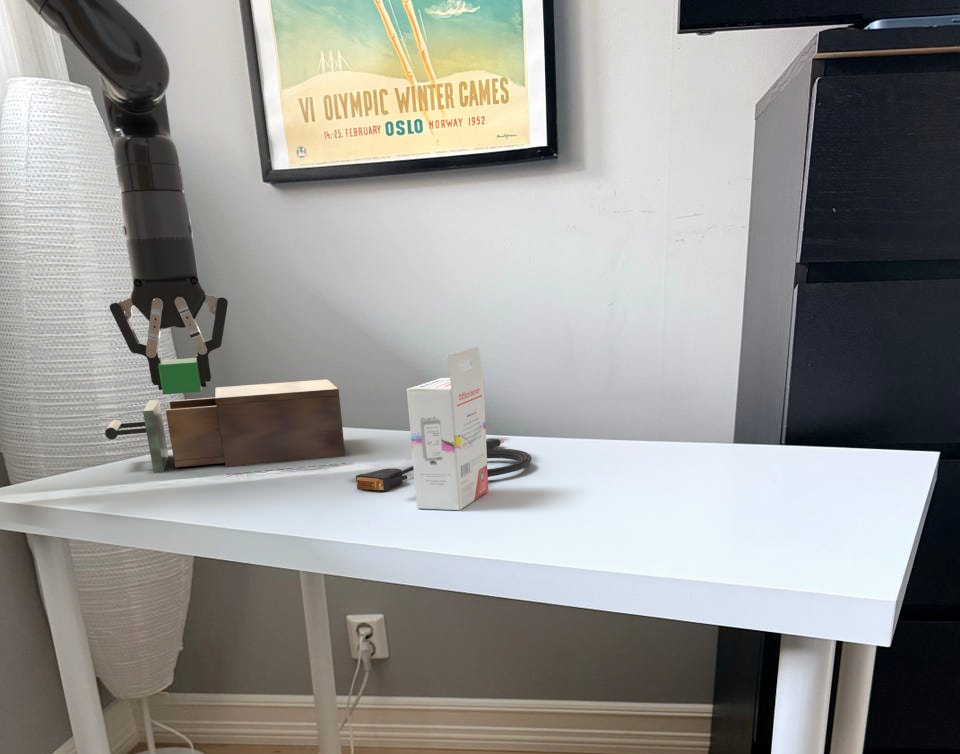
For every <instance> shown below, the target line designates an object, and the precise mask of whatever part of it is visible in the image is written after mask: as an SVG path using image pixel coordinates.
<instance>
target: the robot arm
mask: <svg viewBox="0 0 960 754" xmlns="http://www.w3.org/2000/svg"><path fill="white" fill-rule="evenodd" d="M25 1H26V2H27V4H28V5H29V6H30V7H31V8H32V9H33V10H34V12H36V14H37V15H38V16H39V17H40V18H41V20H42V21H43V22H44V23H45V24H47V26H48V27H49V28H51V30H53V31H54V32H55V33H56V34H58V35H59V36H60V37H63V38H66V39H68V40H69V42H70V43H71V44H72V45H73V46H74V47H75V48H76V49H77V51H79V52H80V54H81V55H82V56H83V57H84V58H85V59H86V60H87V61H88V62H89V64H90V65H92V67H93V68H94V69H95V70H96V71H97V73H98V79H99V85H100V91H101V96H102V100H103V106H104V109H105V114H106V118H107V123H108V127H109V130H110V134H111V137H112V142H113V154H114V155H113V156H114V164H115V171H116V177H117V182H118V188H119V189H118V190H119V193H120V195H119V196H120V208H121V209H120V210H121V219H122V233H123V236H124V238H125V243H126V244H125V245H126V250H127V255H128V263H129V268H130V275H131V280H132V291H131V293H130V297H129V298H126V299H123V300H120V301H118V302H117V301H114V302H112V303H110V305H109V311H110V312H111V314H112V316H113V318H114V321H115V322H116V323H115V324H116V325H117V326H118V329H119V331H120V333H121V335H122V337H123V339H124V341H125V343H126V345H127V347H128V349H129V351H130V352H131V353H132V354H137V355H141V356H143V357H145V358H146V359H147V362H148V367H149V374H150V380H151V383H152V385H153V386H157V387H158V391H162V385H161V379H160V373H159V367H158V365H159V364H160V363H161V361H162V356H160V355H159V346H160V340H161V339H160V338H161V333H162V330H165V329H170V328H172V327H175V328H179V329H183V328H185V329H186V331H187V332H188V335H189V337H190V339H191V342H192V343H193V345H194V347H195V350H196V355H195V358H196V359H197V361H198V368H199V375H200V381H201V387H202V388H206V387H207V386H208V384H207V383H208V382H209V383H210V382H211V379H212V372H211V371H212V370H211V366H210V365H211V364H210V358H209V355H210V353H211V352H213V351H215V350H216V349H219V348H221V346H222V342H223V337H224V330H225V323H226V317H227V311H228V305H229V301H228V299H227V297H224V296H215V295H211V294H207V293H206V292H205V290H204V288H203V287H202V285H201V283H200V276H199V270H198V263H197V256H196V249H195V241H194V234H193V226H192V221H191V215H190V211H189V206H188V203H187V199H186V195H185V189H184V181H183V175H182V169H181V162H180V157H179V152H178V149H177V145H176V143H175V142H174V140H173V139H172V138H173V137H172V135H171V134H172V133H171V126H170V119H169V111H168V103H167V93H166V92H167V89H168V87H169V84H170V79H171V72H170V70H171V69H170V66H169V61H168V58H167V57H166V54H165V52H164V50H163V49H162V47H161V46H160V45H159V43H158V42H157V41H156V39H155V38H154V37H153V35H152V34H151V33H150V32H149V31H148V29H147V28H146V27H145V26H144V25H143V24H142V23H141V21H139V20H138V19H137V17H135V16H134V15H133V14H132V13H131V12H130V11H129V10H128V9H127V8H126V7H125V6H124V5H123V4H121V2H119V1H118V0H25ZM204 303H206V304H207V305H208V310H209V312H210V313H211V314H212V315H214V321H213V328H212V334H211V338H210V339H207V340H205V339H204V337H203V335H202V333H201V330H200V328H199V325H198V324H197V322H196V318H197V316H198V315H199V313H200V311H201V309H202V307H203V305H204ZM133 307H135V308H136V309H137V310H138V312H140V313H141V314H142V315H143V317H145V319H146V320H147V321H148V322H149V323H148V331H147V341H146V344H145V343H142V342H140V339H138V335H137V334H136V332H135V329H134V328H133V325H132V323H131V321H130V319H131V318H132V317H133Z"/></svg>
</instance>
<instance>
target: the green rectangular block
mask: <svg viewBox="0 0 960 754" xmlns="http://www.w3.org/2000/svg"><path fill="white" fill-rule="evenodd" d="M158 367H159V373H160V379H161V385H162V390H161V391H162V394H163V395H175V394H190V393H201V392H202V389H203V387H201V381H200V375H199V368H198V361H197V359H196V357H189V358H188V357H187V358H173V359H172V358H171V359H170V358H169V359H161V363H160V364H159V365H158Z"/></svg>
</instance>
